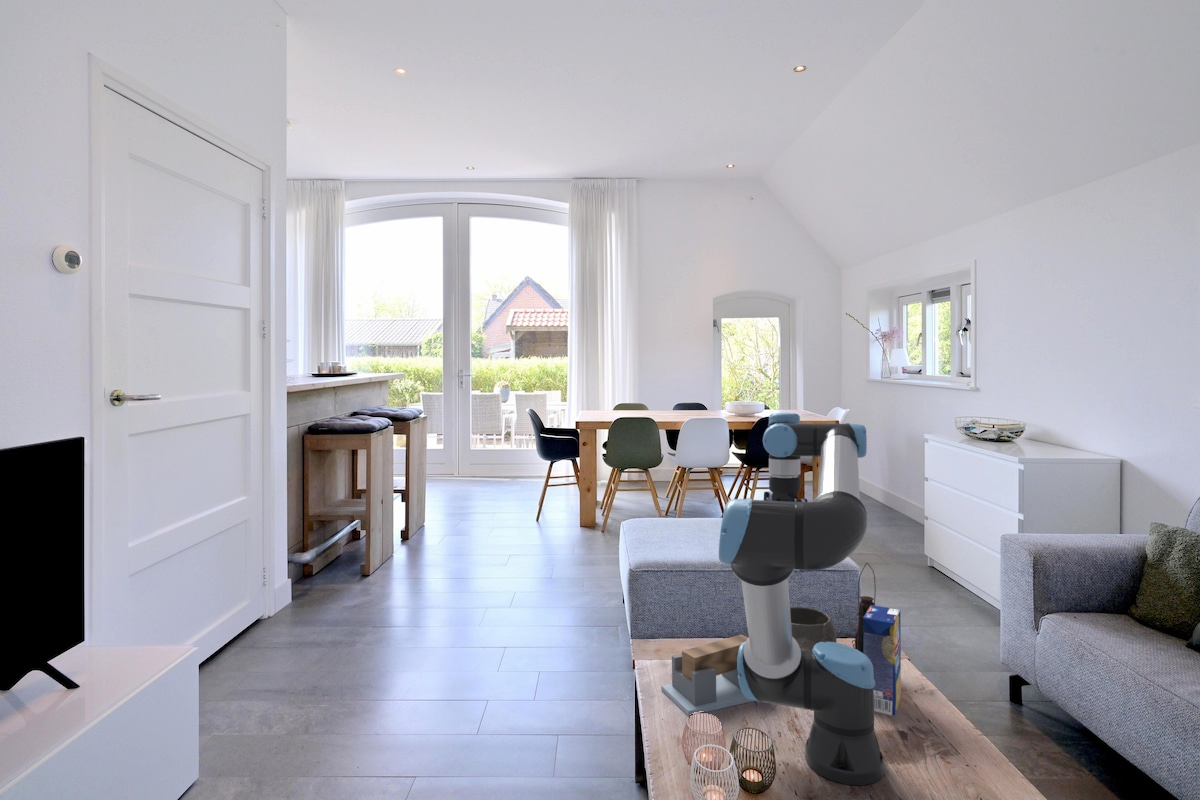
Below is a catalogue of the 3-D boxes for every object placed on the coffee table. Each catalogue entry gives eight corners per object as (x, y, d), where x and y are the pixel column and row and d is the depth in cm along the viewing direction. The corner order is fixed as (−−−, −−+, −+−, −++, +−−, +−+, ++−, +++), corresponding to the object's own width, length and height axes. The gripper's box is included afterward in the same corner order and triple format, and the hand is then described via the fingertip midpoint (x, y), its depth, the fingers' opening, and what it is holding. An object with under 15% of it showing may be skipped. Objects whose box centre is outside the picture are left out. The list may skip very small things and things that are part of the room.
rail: (741, 656, 168) (741, 634, 168) (755, 663, 164) (754, 640, 164) (682, 674, 158) (682, 650, 158) (695, 682, 154) (694, 658, 154)
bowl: (846, 672, 172) (846, 626, 171) (779, 673, 172) (779, 626, 172) (823, 646, 189) (823, 604, 189) (763, 646, 190) (763, 604, 189)
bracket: (778, 695, 159) (778, 659, 159) (688, 715, 150) (688, 678, 150) (746, 672, 172) (745, 639, 172) (661, 690, 163) (660, 655, 162)
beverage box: (900, 697, 158) (900, 609, 157) (894, 716, 148) (894, 623, 148) (871, 690, 161) (871, 604, 161) (863, 708, 152) (863, 618, 152)
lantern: (886, 680, 167) (886, 567, 166) (854, 678, 168) (853, 566, 168) (879, 667, 174) (879, 559, 174) (848, 665, 176) (848, 558, 176)
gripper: (832, 481, 146) (833, 572, 146) (766, 469, 169) (766, 548, 169) (806, 483, 143) (807, 576, 143) (742, 470, 166) (743, 551, 166)
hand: (785, 561), depth 156 cm, fingers open, 13 cm apart
